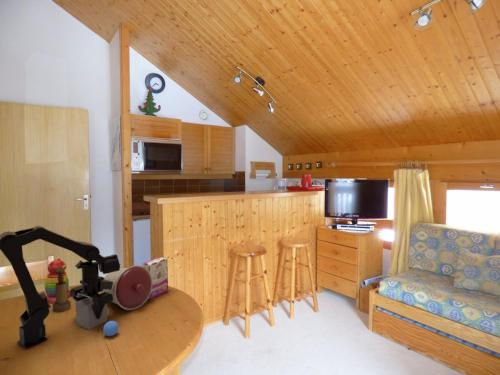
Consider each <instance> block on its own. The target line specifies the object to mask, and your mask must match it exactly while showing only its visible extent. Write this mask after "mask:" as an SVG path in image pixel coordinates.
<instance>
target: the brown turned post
mask: <svg viewBox="0 0 500 375" xmlns="http://www.w3.org/2000/svg"><path fill="white" fill-rule="evenodd" d="M64 271H65V272H66V269H65V270H64V268H63V267H58V268H57V270H56V272H57V274H58V275H59V277H58V281H59V282H58V283H56V302H55V303H52V311H53V312H54V313H55V312H56V313H61V312H65V311H67V310H69V309H71V307H72V304H71V303H72V302H71V300H69V299H68V298H67V283H66V282H63V280H64V277H63V273H64Z"/></svg>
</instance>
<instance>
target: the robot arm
mask: <svg viewBox="0 0 500 375" xmlns="http://www.w3.org/2000/svg"><path fill="white" fill-rule="evenodd" d="M37 240H38V241H39V240H42V241H44V242H46V243H49V244H52V245H54V246H57V247H60V248H62V249H64V250H65V249H66V250H67V251H70V252H72V253H74V254H75V255H77V256H79V257H80V258H82V259H83V260H85V261H82V260H79V261H78V262H77V263H76V264H75V266H74V267H75V268H77V270H80V269H81V279H80V280H79V284H80V285H78V286H75V287H71V289H70V296H71V297H70V298H72V299H73V300H74V301H75V303H76V302H78V301H80V300H83V299H85V298H88V297H91V298H93V299H92V301H93V304H92V308H93V310H94V313H95V316H96V318H97V319H100V317H101V314H102V311H103V308H104V306H105V304H106V303H107V304H108V303H112V302H111V301H113V295H112V294H111V293H107V292H103V293H102V291H103V289H109V290H111V289H112V285H113V281H109V280H105V279H104V278H105V276H100V274H99V273H102V274H103V275H107V274H108V273H112V272H116V271H119V270H120V269H121V264H120V259H118V258H119V257H118V255H117V254H116V253H115V254H111V255H107V256H103V255H101V252H100V249H99V247H97V246H96V245H95V244H93V243H89V242H85V241H79V240H74V239H71V238H70V237H68V236H64V235H62V234H60V233H58V232H55V231H52V230H49V229H48V228H46V227H43V226H41V225H36V226H33V227H30V228H26V229H21V230H16V231H4V232H2V233H1V234H0V251H1V253H2V254H3V255H4V257H5V258H6V259H7V260H8V262H9V263H10V264H11V268H12V269H13V272H14V274H15V277H16V278H17V281H18V284H19V286H20V288H21V291H22V292H23V293H22V294H23V295H24V301H25V302H24V303H25V311H24V312H23V313H22V314H21V315H20V316H19V321H20V324H21V325H20V326H19V327H18V329H19V330H18V332H19V341H17V342H16V343H17V344H18V345H19V346H21V347H23V348H25V349H29V348H32V347H34V346H36V345H38V344H40V343H42V342H43V343H44V342H45V341H47V340H48V337H46V336H47V334H46V333H47V332H46V324H45V323H44V322H45V319H46V318H47V317H48V316H49V314H50V308H51V305H50V304H51V303H49V302H48V301H47V294H46V293H45V292H44V291H43V292H41V293H39V292H38V290H37V288H36V285H35V283H34V280H33V277H32V275H31V273H30V270H29V269H28V267H27V263H26V260H25V257H24V252H23V246H26V245H28V244H31V243H33V242H35V241H37Z"/></svg>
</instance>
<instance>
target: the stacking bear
mask: <svg viewBox="0 0 500 375" xmlns="http://www.w3.org/2000/svg"><path fill="white" fill-rule="evenodd" d="M58 267H63V268H64V270H65V271H64V273H63V277H64V280H63V282H66V283H67V299H68V298H72V297H71V296H70V290H71V289H70V290H69V285H70V281H69V277H68V274H67V272H66V269H67V264H66V262H64V261H63V260H62V259H61V258H57V259H53V260H52V261H50V262H49V263H48V265H47V272H48V274H47V276H46V277H45V280H44V291H45V295H46V297H47V301H48V303H49V304H54V303H55V302H56V283H58V282H59V281H58V277H59V275H58V274H57V272H56V270H57V268H58Z"/></svg>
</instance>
